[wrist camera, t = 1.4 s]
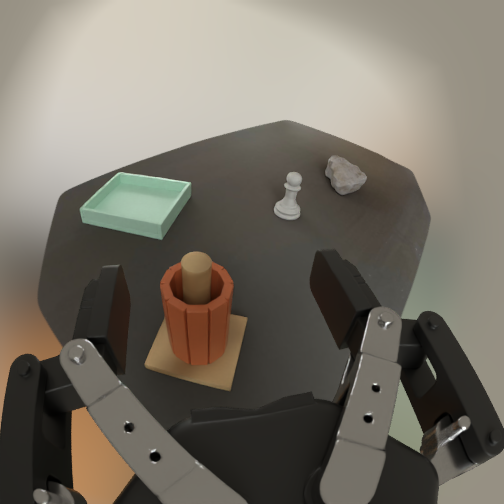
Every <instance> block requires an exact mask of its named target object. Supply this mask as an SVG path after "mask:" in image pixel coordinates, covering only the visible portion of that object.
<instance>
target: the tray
mask: <svg viewBox="0 0 504 504" xmlns="http://www.w3.org/2000/svg"><path fill="white" fill-rule="evenodd" d="M190 197H191V183H190V182H184V181H177V180H171V179H164V178H157V177H151V176H143V175H136V174H129V173H121V172H118V173H117V174H116V175H115V176H114V177H113V178H112V179H111V180H109V181H108V182H107V183H106V184H105V185H104V186H103V187H102V188H101V189H100V190H99V191H97V192H96V193H95V194H94V195H93V196H92V197H91V198H90V199H89V200H88V201H87V202H86V203H85V204H84V205H83V206H82V207H81V208H80V213H81V218H82V222H83V223H87V224H91V225H96V226H101V227H105V228H110V229H114V230H119V231H123V232H128V233H133V234H137V235H142V236H147V237H151V238H156V239H161V240H162V239H163V238H164V236H165V234H166V233H167V231H168V230H169V228H170V227H171V225H172V224H173V222H174V221H175V219H176V218H177V216H178V214H179V213H180V211H181V210H182V208H183V207H184V205H185V204H186V203H187V201H188V200H189V198H190Z"/></svg>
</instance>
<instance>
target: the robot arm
mask: <svg viewBox="0 0 504 504" xmlns="http://www.w3.org/2000/svg"><path fill="white" fill-rule="evenodd" d="M310 288H311V291H312V294H313V296H314V298H315V300H316V302H317V304H318V306H319V308H320V310H321V312H322V314H323V316H324V318H325V321H326V323H327V325H328V327H329V329H330V331H331V333H332V335H333V338H334V340H335V342H336V344H337V346H338V348H339V350H340V349H344V348H349V349H350V351H351V352H350V354H349V357H348V360H347V363H346V366H345V369H344V372H343V375H342V378H341V381H340V384H339V387H338V390H337V393H336V395H335V397H334V399H333V401H332V402H331V401H327V400H322V399H314V397H313V394H312V391H311V392H307V393H302V394H297V395H292V396H287V397H283V398H281V399H279V400H276V401H274V402H272V403H269V404H267V405H265V406H262V407H260V408H258V409H239V408H229V407H214V408H204V409H193V410H191V417H190V418H187V419H185V420H183V421H180V422H178V423H177V424H175V425H174V426H172V427H171V428H170V429H168V430H167V431H166V430H165V429H164V428H163V427H162V426H161V425H160V424H159V423H158V422H157V421H156V420H155V418H154V417H153V416H152V415H151V414H150V413H149V412H148V411H147V410H146V409H145V407H144V406H143V405H142V404H141V403H140V402H139V401H138V399H137V398H136V397H135V396H134V395H133V393H132V392H131V391H130V390H129V389H128V388H127V386H126V385H125V384H124V383H121V381H120V380H119V379H118V378H117V375H123V374H125V367H126V351H127V338H128V327H129V316H130V294H129V290H128V287H127V283H126V280H125V276H124V272H123V268H122V266H121V265H112V266H103V267H102V270H101V274H100V278H99V279H95V280H92V281H91V282H90V283H89V284H88V286H87V287H86V288H85V291H84V294H83V298H82V302H81V305H80V309H79V313H78V317H77V322H76V326H75V330H74V335H73V339H72V341H70V342H68V343H67V344H66V345H65V346H64V347H63V348H62V350H61V352H60V355H58V356H56V357H53V358H49V359H46V360H43V361H39V360H38V359H37V358H36V356H34V355H32V354H24V355H21V356H19V357H18V358H16V359H15V361H14V362H13V363H12V365H11V368H10V372H9V377H8V382H7V387H6V393H5V399H4V406H3V413H2V421H1V430H0V504H87V502H86V500H85V498H84V497H83V496H82V495H81V494H80V493H79V492H77V491H75V490H74V489H73V477H72V455H71V418H72V410H76V409H79V408H82V407H87V408H86V409H87V411H88V412H89V414H90V416H91V417H92V418H93V420H94V421H95V423H96V424H97V426H98V427H99V428H100V430H101V431H102V432H103V434H104V435H105V436H106V438H107V439H108V441H109V442H110V443H111V444H112V446H113V447H114V448H115V449H116V451H117V452H118V453H119V455H120V456H121V457H122V458H123V459H124V461H125V462H126V463H127V464H128V465H129V467H130V468H131V469H132V470H133V471H134V472H135V474H134V476H133V477H132V479H131V480H130V481H129V482H128V484H127V485H126V486H125V488H124V489H123V491H122V492H121V494H120V495H119V496H118V497H117V499H116V500H115V501H114V503H113V504H437V499H438V490H439V486H440V485H442V484H444V483H445V482H447V481H449V480H450V479H453V478H455V477H457V476H459V475H461V474H463V473H465V472H467V471H469V470H471V469H473V468H475V467H477V466H479V465H480V464H482V463H484V462H486V461H488V460H489V459H491V458H493V457H494V456H496V455H498V454H499V453H500V452H502V450H503V449H504V428H503V426H502V424H501V422H500V420H499V418H498V415H497V413H496V411H495V409H494V407H493V405H492V403H491V401H490V399H489V397H488V395H487V393H486V391H485V389H484V387H483V385H482V383H481V381H480V380H479V378H478V376H477V374H476V372H475V370H474V369H473V367H472V366H471V364H470V362H469V360H468V358H467V357H466V355H465V353H464V351H463V350H462V348H461V346H460V345H459V343H458V341H457V340H456V338H455V336H454V335H453V333H452V332H451V330H450V328H449V327H448V325H447V324H446V322H445V321H444V320H443V318H442V317H441V316H440V315H438V314H437V313H435V312H431V311H425V312H423V313H421V314H420V316H419V317H418V319H417V320H410V319H401V318H400V317H399V315H398V314H397V313H396V312H395V311H393V310H391V309H389V308H386V307H382V306H381V305H380V303H379V302H378V300H377V298H376V297H375V295H374V294H373V292H372V291H371V289H370V288H369V286H368V285H367V283H365V280H364V279H363V277H361V274H360V273H359V271H358V270H357V268H356V267H355V266H354V265H353V264H351V263H350V262H349V261H347V260H342V258H341V257H340V255H339V254H338V252H337V251H336V250H335V249H326V250H317V252H316V254H315V258H314V262H313V267H312V271H311V275H310ZM427 358H428V359H429V360H430V362H431V364H432V366H433V368H434V370H435V372H436V377H437V378H436V380H435V378H434V376H433V374H432V372H431V370H430V368H429V366H428V364H427V362H426V359H427ZM399 380H401V382H402V384H403V387H404V389H405V391H406V393H407V395H408V398H409V400H410V402H411V405H412V407H413V409H414V412H415V414H416V416H417V419H418V421H419V424H420V426H421V428H422V431H423V433H424V435H423V437H422V446H421V447H420V453H419V452H417V451H415V450H413V449H412V448H410V447H408V446H406V445H405V444H403V443H401V442H400V441H398V440H396V439H394V438H393V437H391V436H389V435H388V433H389V429H390V425H391V421H392V416H393V412H394V407H395V402H396V396H397V391H398V386H399Z"/></svg>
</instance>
